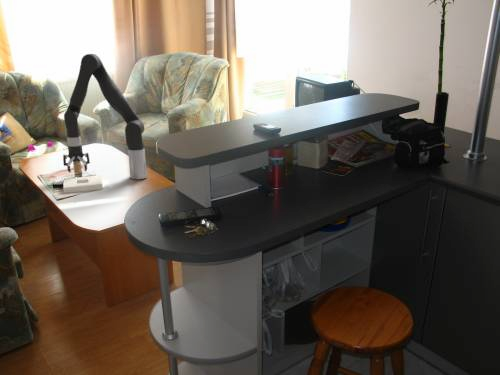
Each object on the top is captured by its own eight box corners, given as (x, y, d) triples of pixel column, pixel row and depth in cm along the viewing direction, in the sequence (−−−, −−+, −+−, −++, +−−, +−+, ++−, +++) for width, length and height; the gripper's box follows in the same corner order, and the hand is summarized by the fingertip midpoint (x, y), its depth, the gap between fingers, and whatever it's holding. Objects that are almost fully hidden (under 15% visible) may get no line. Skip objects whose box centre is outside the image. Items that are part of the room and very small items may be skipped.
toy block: (32, 158, 329) (31, 147, 326) (29, 156, 333) (27, 145, 331) (55, 154, 338) (53, 143, 336) (51, 152, 342) (50, 141, 340)
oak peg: (82, 177, 290) (80, 161, 287) (82, 179, 287) (80, 162, 283) (75, 178, 289) (73, 161, 286) (75, 180, 285) (73, 163, 282)
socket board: (100, 180, 285) (100, 175, 284) (102, 189, 271) (102, 183, 270) (64, 183, 279) (63, 178, 278) (64, 193, 265) (63, 187, 264)
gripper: (87, 141, 287) (90, 168, 292) (61, 143, 282) (64, 170, 288) (88, 144, 280) (90, 172, 285) (61, 146, 276) (64, 174, 281)
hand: (77, 171), depth 286 cm, fingers open, 8 cm apart
